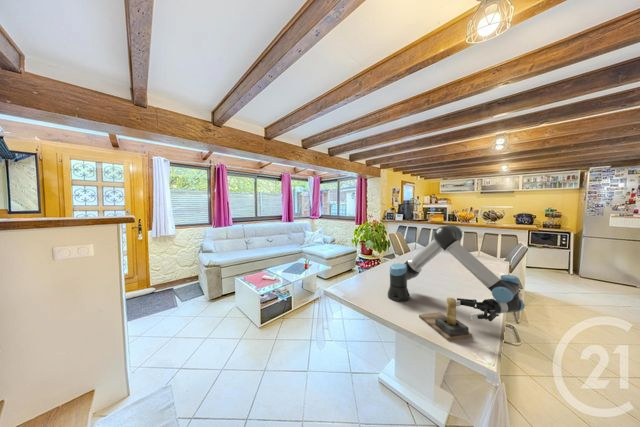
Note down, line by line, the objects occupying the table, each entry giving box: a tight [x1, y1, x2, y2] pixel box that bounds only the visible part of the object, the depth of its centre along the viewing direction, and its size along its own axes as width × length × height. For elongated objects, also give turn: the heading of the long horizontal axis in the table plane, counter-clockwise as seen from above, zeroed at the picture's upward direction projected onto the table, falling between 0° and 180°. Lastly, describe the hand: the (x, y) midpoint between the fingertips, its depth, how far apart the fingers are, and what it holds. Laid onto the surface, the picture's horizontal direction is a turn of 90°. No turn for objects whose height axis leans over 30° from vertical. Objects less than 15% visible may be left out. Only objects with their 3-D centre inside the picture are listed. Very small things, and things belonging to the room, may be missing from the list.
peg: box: [446, 297, 457, 326], centre depth 109 cm, size 4×4×16 cm
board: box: [418, 311, 473, 341], centre depth 114 cm, size 22×14×5 cm, turn 10°
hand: (459, 310), depth 109 cm, fingers open, 13 cm apart
